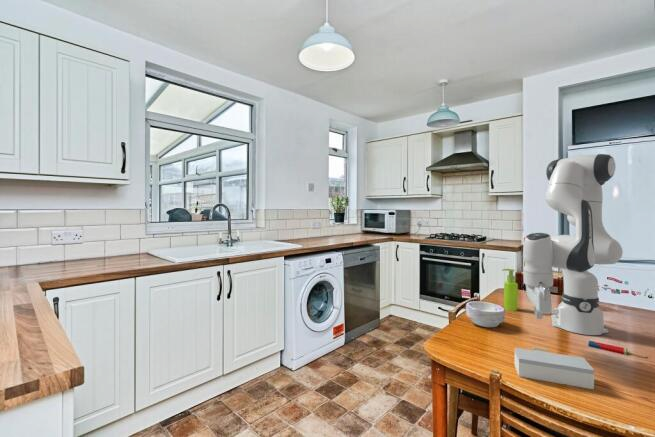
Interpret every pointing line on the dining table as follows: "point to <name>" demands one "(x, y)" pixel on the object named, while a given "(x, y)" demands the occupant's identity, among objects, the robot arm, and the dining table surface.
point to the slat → (540, 349)
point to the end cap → (554, 368)
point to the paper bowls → (485, 313)
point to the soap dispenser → (510, 292)
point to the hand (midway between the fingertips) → (538, 317)
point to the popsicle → (612, 348)
